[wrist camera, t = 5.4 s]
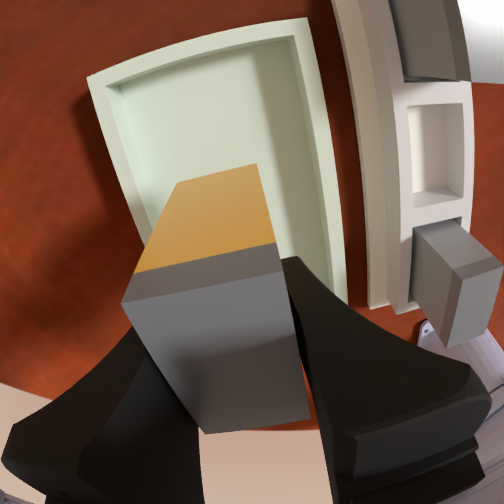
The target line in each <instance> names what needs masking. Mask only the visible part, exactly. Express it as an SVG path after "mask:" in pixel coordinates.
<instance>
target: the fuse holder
mask: <svg viewBox="0 0 504 504" xmlns="http://www.w3.org/2000/svg"><path fill="white" fill-rule="evenodd" d="M331 3H332V7H333V11H334V15H335V19H336V23H337V27H338V31H339V36H340V40H341V45H342V49H343V54H344V59H345V64H346V69H347V75H348V80H349V86H350V92H351V98H352V104H353V110H354V117H355V124H356V131H357V139H358V147H359V156H360V165H361V174H362V185H363V197H364V210H365V226H366V247H367V286H368V307H369V309H370V310H371V309H375V308H378V307H382V306H386V305H389V304H391V306H392V308H393V310H394V311H395V313H396V315H398V314H401V313H404V312H408V311H411V310H414V309H418V308H420V307H419V305H418V304H417V302H416V301H415V299H414V298H413V296H412V295H411V293H410V292H409V282H410V269H411V252H412V228H413V227H417V226H421V225H426V224H430V223H434V222H439V221H443V220H447V219H453V220H454V221H455V222H456V223H457V224H459V225H460V226H461V227H462V228H463V229H465V230H466V231H467V232H468V233H469V230H470V220H471V210H472V197H473V179H474V120H473V103H472V90H471V82H468V81H461V80H453V79H445V78H436V77H426V76H414V75H403V72H402V65H401V59H400V54H399V48H398V43H397V38H396V33H395V28H394V24H393V19H392V15H391V11H390V7H389V3H388V0H331Z"/></svg>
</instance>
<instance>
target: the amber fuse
mask: <svg viewBox="0 0 504 504" xmlns="http://www.w3.org/2000/svg"><path fill="white" fill-rule="evenodd" d="M121 305H122V307H123V309H124V311H125V313H126V314H127V316H128V318H129V320H130V321H131V323H132V325H133V327H134V328H135V330H136V332H137V333H138V335H139V337H140V339H141V340H142V342H143V344H144V345H145V347H146V349H147V350H148V352H149V353H150V355H151V357H152V358H153V360H154V361H155V363H156V365H157V366H158V368H159V369H160V371H161V372H162V374H163V375H164V377H165V378H166V380H167V381H168V383H169V384H170V386H171V387H172V389H173V390H174V392H175V393H176V395H177V396H178V398H179V399H180V401H181V402H182V403H183V405H184V406H185V408H186V409H187V411H188V412H189V413H190V415H191V416H192V417H193V419H194V420H195V422H196V423H197V424H198V426H199V427H200V428H201V430H202V431H203V432H204V434H213V433H223V432H232V431H240V430H248V429H255V428H262V427H268V426H274V425H280V424H286V423H291V422H296V421H302V420H306V419H311V416H310V410H309V404H308V398H307V393H306V387H305V382H304V376H303V371H302V365H301V360H300V354H299V349H298V344H297V338H296V333H295V328H294V323H293V318H292V312H291V307H290V302H289V297H288V292H287V287H286V282H285V277H284V272H283V268H282V264H281V260H280V255H279V251H278V247H277V243H276V239H275V235H274V231H273V227H272V223H271V219H270V215H269V211H268V207H267V203H266V199H265V195H264V191H263V187H262V183H261V179H260V175H259V171H258V167H257V164H256V163H255V164H250V165H246V166H241V167H237V168H233V169H229V170H224V171H220V172H216V173H212V174H208V175H204V176H200V177H196V178H193V179H189V180H185V181H181V182H178V183H176V185H175V187H174V189H173V191H172V193H171V195H170V197H169V199H168V201H167V203H166V205H165V207H164V209H163V211H162V213H161V215H160V217H159V219H158V221H157V223H156V225H155V227H154V229H153V232H152V234H151V236H150V238H149V240H148V242H147V244H146V246H145V249H144V251H143V253H142V255H141V257H140V260H139V262H138V264H137V266H136V269H135V271H134V273H133V275H132V278H131V280H130V282H129V285H128V287H127V289H126V292H125V294H124V296H123V299H122V301H121Z"/></svg>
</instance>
